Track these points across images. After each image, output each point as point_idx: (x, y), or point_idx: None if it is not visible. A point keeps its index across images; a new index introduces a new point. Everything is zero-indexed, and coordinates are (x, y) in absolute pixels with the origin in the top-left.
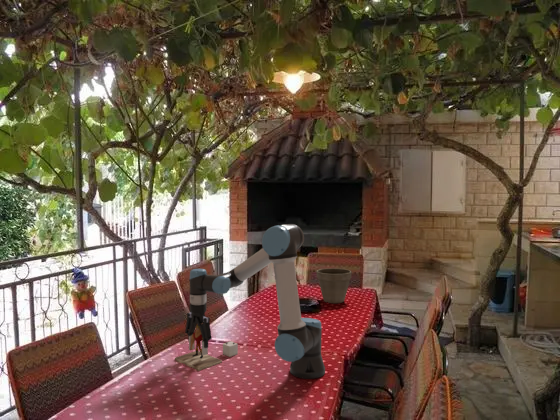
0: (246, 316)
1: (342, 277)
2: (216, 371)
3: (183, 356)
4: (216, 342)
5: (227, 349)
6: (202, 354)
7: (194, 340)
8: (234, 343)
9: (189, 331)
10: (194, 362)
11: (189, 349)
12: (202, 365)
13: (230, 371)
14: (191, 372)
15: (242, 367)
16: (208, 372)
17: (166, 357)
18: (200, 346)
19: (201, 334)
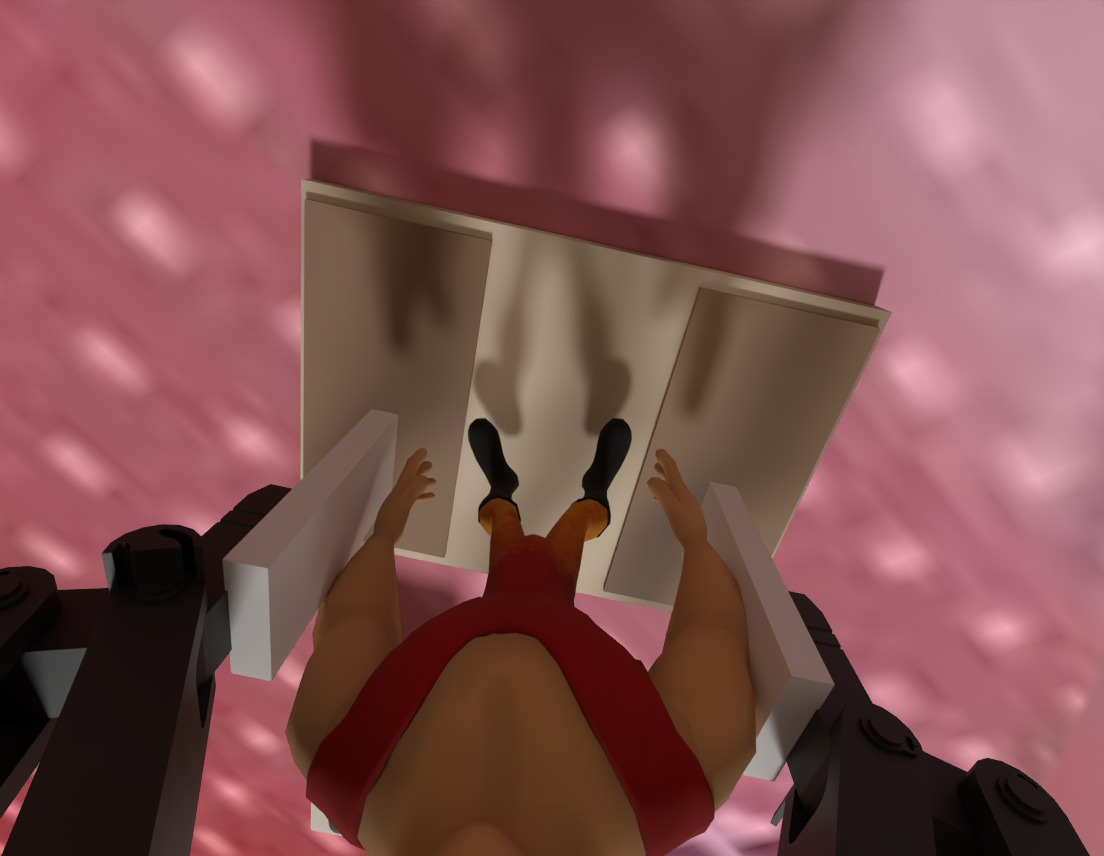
0: None
1: None
2: (148, 296)
3: (787, 408)
4: (714, 834)
5: None
6: (379, 418)
7: (668, 636)
8: (328, 823)
9: (878, 828)
10: (517, 329)
11: (722, 489)
12: (336, 290)
13: (45, 379)
14: (357, 73)
15: (61, 516)
16: (188, 215)
17: (1052, 323)
18: (490, 550)
19: (358, 779)
